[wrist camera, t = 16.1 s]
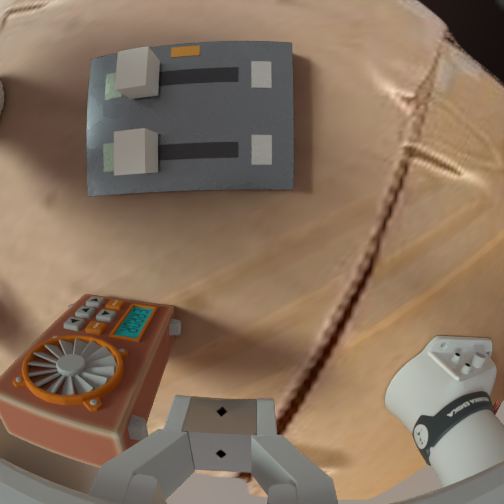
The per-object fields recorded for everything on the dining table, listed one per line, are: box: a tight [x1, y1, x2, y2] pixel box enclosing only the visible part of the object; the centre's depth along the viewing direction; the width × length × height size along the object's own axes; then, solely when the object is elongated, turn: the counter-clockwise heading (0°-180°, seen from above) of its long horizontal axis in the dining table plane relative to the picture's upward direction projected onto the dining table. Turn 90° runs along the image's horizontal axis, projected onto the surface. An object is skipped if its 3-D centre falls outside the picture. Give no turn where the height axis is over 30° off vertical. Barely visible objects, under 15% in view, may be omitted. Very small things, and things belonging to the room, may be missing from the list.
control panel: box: [0, 294, 181, 468], centre depth 27 cm, size 21×7×15 cm
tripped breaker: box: [115, 46, 160, 99], centre depth 25 cm, size 3×4×4 cm
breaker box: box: [86, 41, 294, 196], centre depth 30 cm, size 22×16×3 cm
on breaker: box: [114, 128, 158, 176], centre depth 27 cm, size 3×4×4 cm
